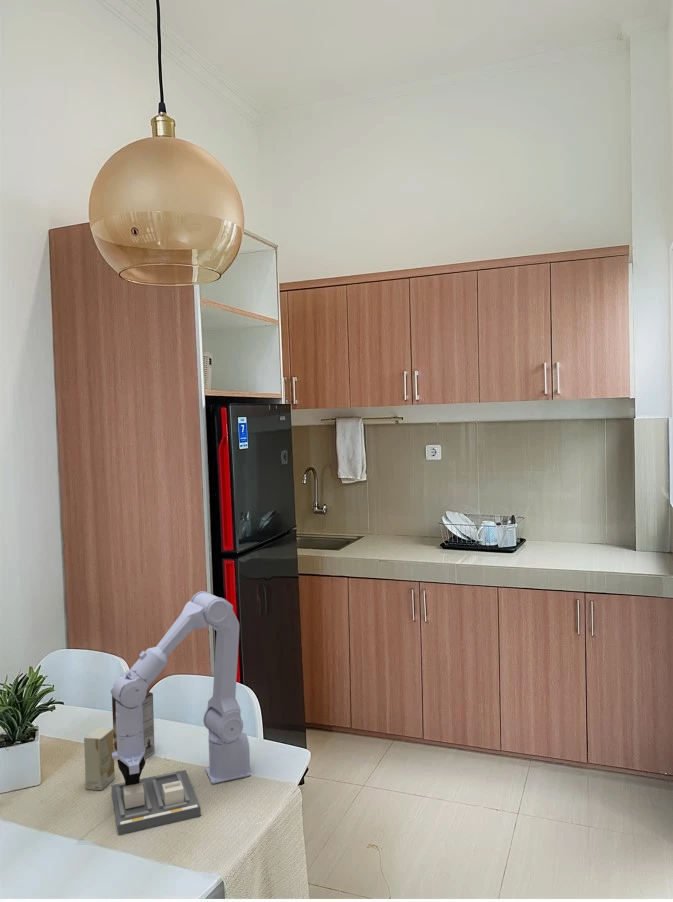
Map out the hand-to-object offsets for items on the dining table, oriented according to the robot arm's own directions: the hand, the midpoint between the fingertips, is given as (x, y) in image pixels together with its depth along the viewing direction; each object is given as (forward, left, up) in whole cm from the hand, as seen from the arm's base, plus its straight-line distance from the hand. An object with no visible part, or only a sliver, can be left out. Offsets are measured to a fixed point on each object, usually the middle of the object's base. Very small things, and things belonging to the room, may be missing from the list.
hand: (132, 791), depth 157 cm
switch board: (-5, +2, -3) cm, 6 cm away
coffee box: (-3, -25, -3) cm, 26 cm away
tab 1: (0, +3, -1) cm, 3 cm away
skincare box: (+6, -13, -3) cm, 15 cm away
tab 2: (-8, +6, -1) cm, 10 cm away
